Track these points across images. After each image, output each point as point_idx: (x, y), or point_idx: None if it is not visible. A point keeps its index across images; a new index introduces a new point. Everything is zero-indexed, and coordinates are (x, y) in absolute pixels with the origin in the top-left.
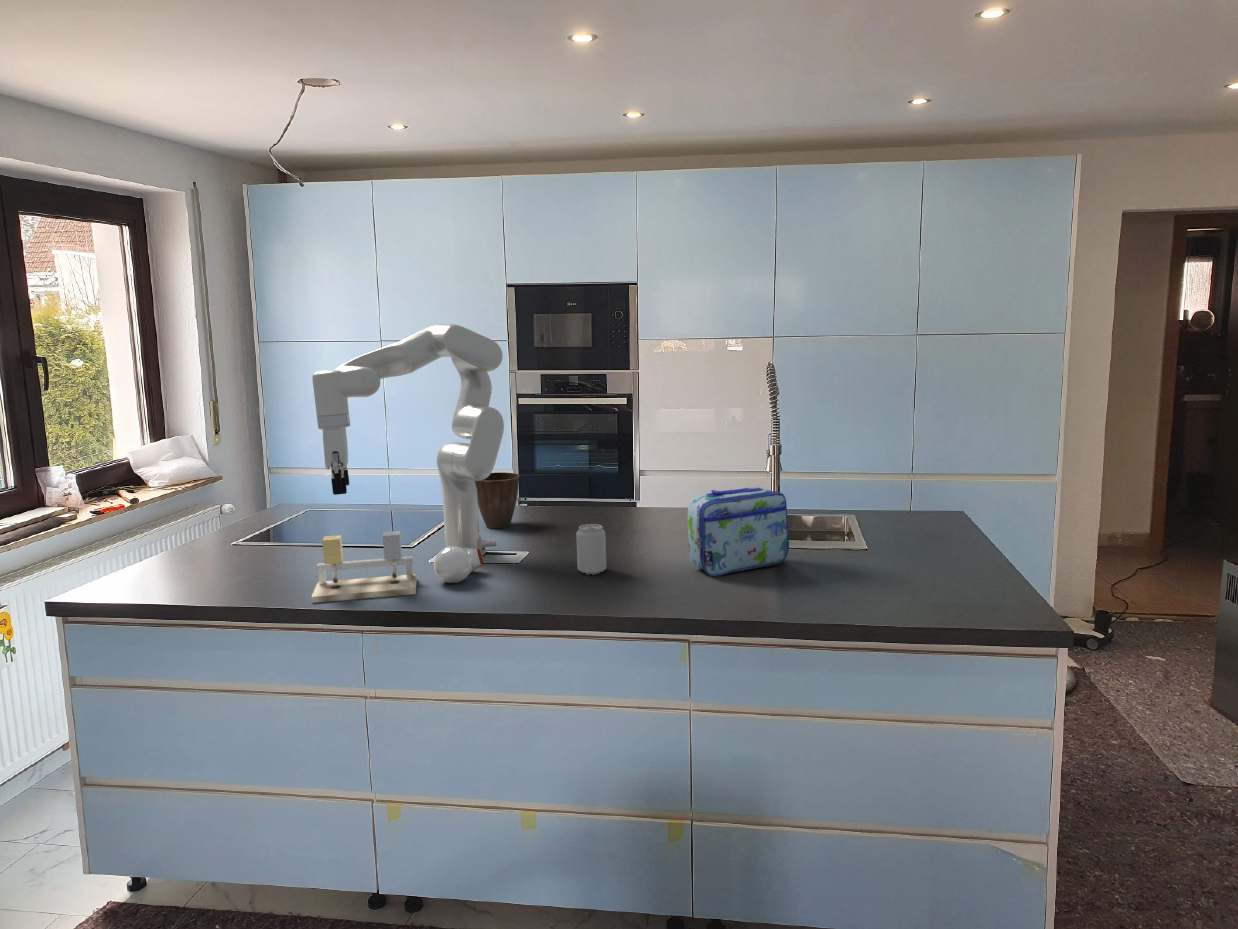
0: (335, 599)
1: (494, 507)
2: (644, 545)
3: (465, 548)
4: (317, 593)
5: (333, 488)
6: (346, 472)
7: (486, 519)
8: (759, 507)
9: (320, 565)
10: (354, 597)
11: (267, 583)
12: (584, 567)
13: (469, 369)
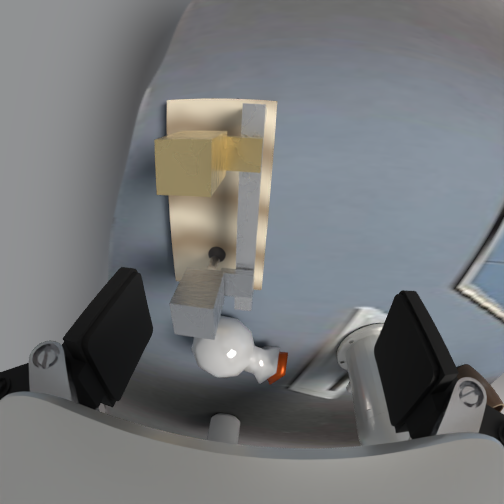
0: None
1: None
2: (293, 446)
3: (270, 375)
4: (185, 109)
5: (104, 294)
6: (391, 414)
7: (461, 374)
8: None
9: (242, 113)
10: None
11: (350, 9)
12: (213, 419)
13: None
